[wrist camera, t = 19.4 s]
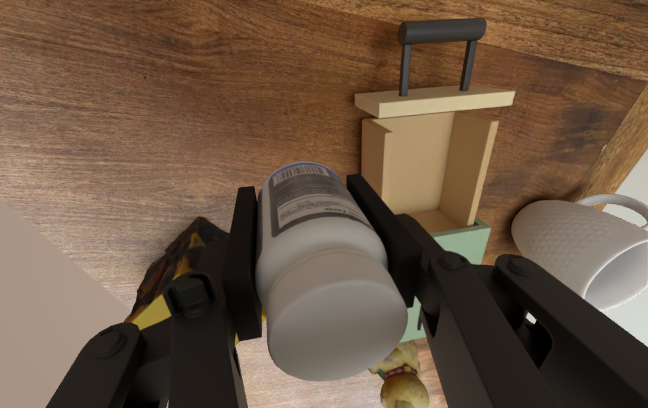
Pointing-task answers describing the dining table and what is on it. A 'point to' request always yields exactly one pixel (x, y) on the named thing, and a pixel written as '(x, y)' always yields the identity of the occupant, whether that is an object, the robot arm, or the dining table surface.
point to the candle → (173, 273)
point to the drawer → (431, 135)
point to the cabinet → (459, 241)
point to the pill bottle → (322, 277)
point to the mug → (587, 247)
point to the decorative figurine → (402, 378)
